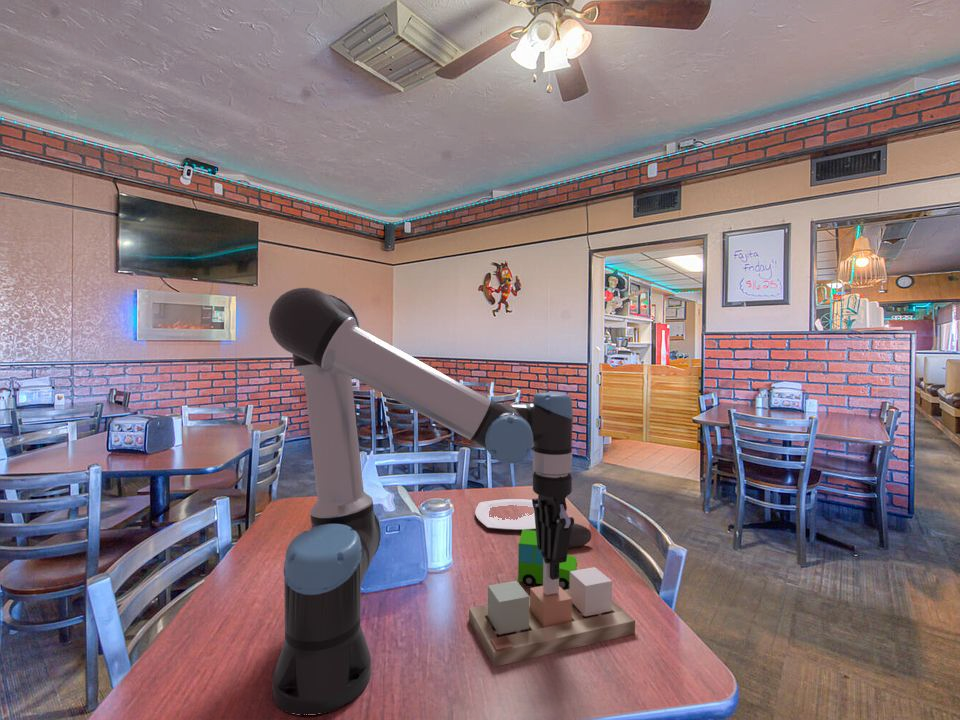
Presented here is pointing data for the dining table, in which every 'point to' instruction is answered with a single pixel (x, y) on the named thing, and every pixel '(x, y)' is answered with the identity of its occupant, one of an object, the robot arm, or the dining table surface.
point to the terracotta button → (550, 607)
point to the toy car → (539, 562)
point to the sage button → (508, 607)
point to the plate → (506, 524)
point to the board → (548, 634)
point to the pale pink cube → (590, 591)
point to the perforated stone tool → (579, 536)
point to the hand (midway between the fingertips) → (550, 591)
